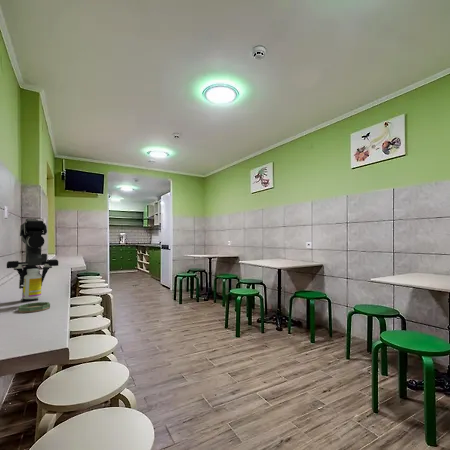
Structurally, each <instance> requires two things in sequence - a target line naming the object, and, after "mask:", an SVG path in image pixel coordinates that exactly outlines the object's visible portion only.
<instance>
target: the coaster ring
mask: <svg viewBox="0 0 450 450" xmlns="http://www.w3.org/2000/svg"><path fill="white" fill-rule="evenodd" d="M50 308H51V303H50V302H48V301H47V302H46V301H39V302H30V303H29V302H28V303H24V304H21V305H18V309H17V312H18V313H20V314H21V313H23V314H24V313H25V314H27V313H36V312H42V311H47V310H49V309H50Z"/></svg>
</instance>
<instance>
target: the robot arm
mask: <svg viewBox="0 0 450 450" xmlns="http://www.w3.org/2000/svg"><path fill="white" fill-rule="evenodd" d="M47 229H48V226H47V224H46V223H45V222H44V220H38V219H37V218H26V219H25V221H24V223H22V224H21V225H20V228H19V237H21V241H22V242H23V244H24V245H25V246H24V249H25V250H24V253H25V258H24V260H25V261H20V262H19V260H8V261H7V262H6V269H13V271H16V272H17V273H18V275H19V280H18V281H19V282H18V289H21V290H22V289H23V284H24V276H25V275H27V269H40V267H39V266H42V273H41V271H39V274H40V275H41V276H42V283H43V282H44V280H45V277H46V274H47V272H48V271H49V270H50V269H52V268H53V267H57V266H59V260H58V259H48V254H47V253H42V247H43V246H44V244H45V239H44V237H43V236H45V235H47V233H48V230H47ZM42 286H43V284H42V285H41V287H42ZM21 296H22V298H20V301H21V303H22V302H23V303H24V302H25V303H26V302H32V301H38V300H39V298H36V299H23V291H22V294H21Z"/></svg>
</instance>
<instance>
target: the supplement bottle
mask: <svg viewBox="0 0 450 450" xmlns="http://www.w3.org/2000/svg"><path fill="white" fill-rule="evenodd" d="M39 271H40V268H39V269H27V275H25V276H24V284H23V285H22V286H23V288H22V292H23V299H36V298H38V299H41V297H42V286H43V282H42V276H41V275H42V274H41V273H40V274H41V275H40V274H39ZM40 272H41V271H40ZM41 285H42V286H41Z"/></svg>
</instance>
